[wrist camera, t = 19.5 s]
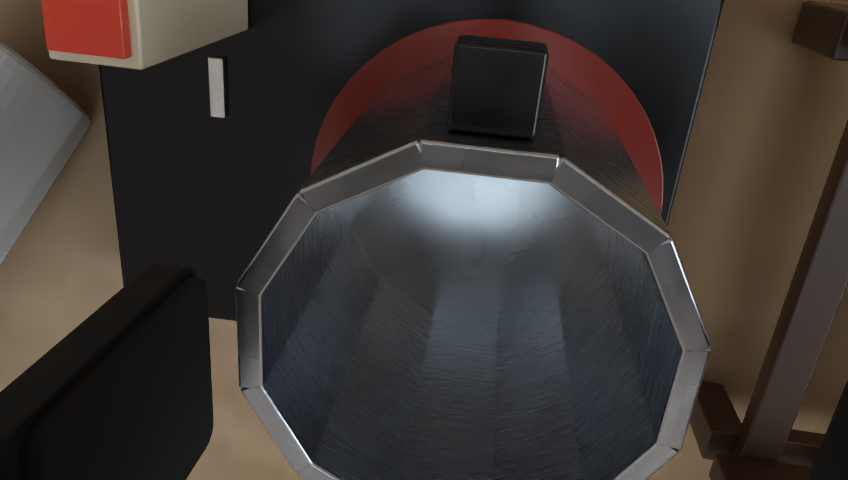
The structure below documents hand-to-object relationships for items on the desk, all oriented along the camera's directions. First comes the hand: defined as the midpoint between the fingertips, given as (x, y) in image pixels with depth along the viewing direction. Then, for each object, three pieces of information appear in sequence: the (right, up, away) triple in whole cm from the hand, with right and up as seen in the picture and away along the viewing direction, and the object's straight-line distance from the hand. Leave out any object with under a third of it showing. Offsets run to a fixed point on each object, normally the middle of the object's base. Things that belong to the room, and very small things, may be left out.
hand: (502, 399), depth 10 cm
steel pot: (0, +3, +6) cm, 7 cm away
